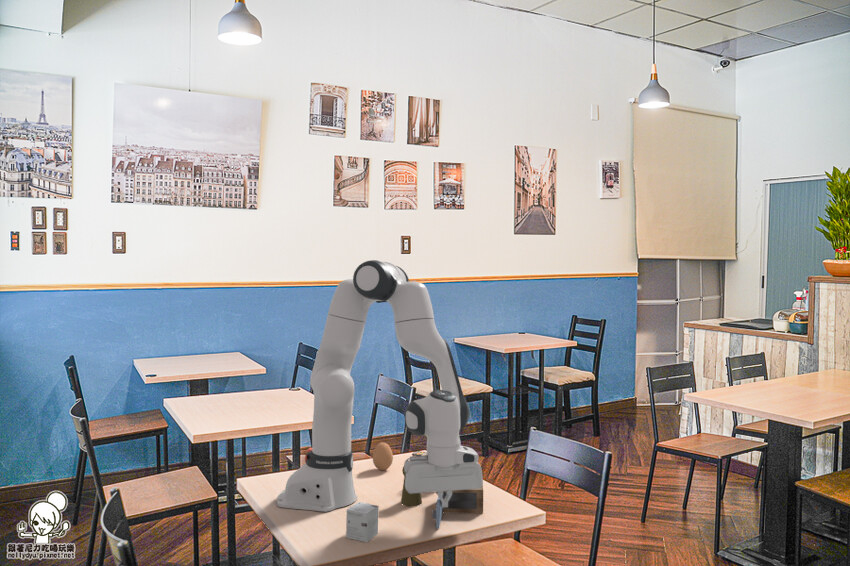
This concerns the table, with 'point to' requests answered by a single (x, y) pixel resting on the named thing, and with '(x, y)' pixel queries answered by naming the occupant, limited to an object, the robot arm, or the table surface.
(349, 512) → the skincare box
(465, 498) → the case
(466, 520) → the table surface
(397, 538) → the table surface
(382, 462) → the egg
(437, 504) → the door
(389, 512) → the table surface
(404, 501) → the olive green pepper mill
